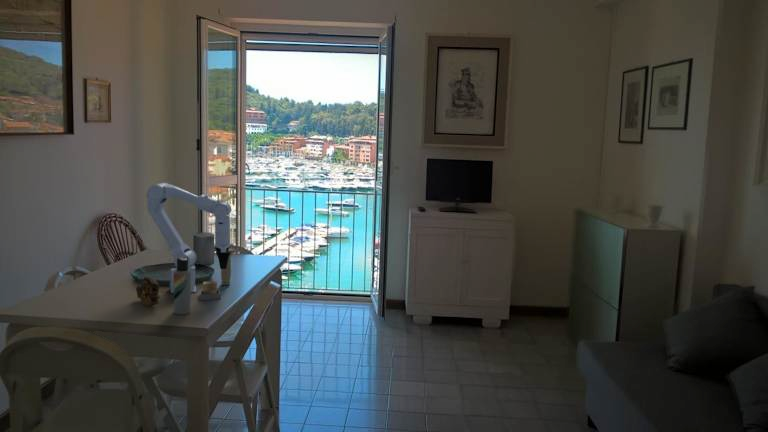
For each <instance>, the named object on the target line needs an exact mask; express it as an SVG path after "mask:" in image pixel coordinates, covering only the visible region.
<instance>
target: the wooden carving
mask: <svg viewBox="0 0 768 432" xmlns="http://www.w3.org/2000/svg"><path fill="white" fill-rule="evenodd" d="M141 283H142V284H141V285H137V286H136V289H135V292H136V295H137V299H140V302H141V303H142V304H143V305H145V306H156V305H158V304H159V299H161V295H160V294H159V290H160V283H158V281H157V279H156V278H155V277H149V276H146V277H145V276H144V277H143V279H142V281H141Z"/></svg>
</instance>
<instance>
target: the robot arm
mask: <svg viewBox="0 0 768 432" xmlns="http://www.w3.org/2000/svg"><path fill="white" fill-rule="evenodd" d="M145 198H146V201H147V202H146V203H147V206H146V207H147V212H148V214H149V215H150V217H151V218H152V220H153V222H154V224H155V225H156V226H157V228H158V230H159V232H161V233H160V234H162V236H163V238H164V240H165V241H166V243H167V245H168V246H169V248H170V250H171V255H172V258H173V262H174V265H175V268H170V282H169V288H170V293H171V294H174V271H175V270H177V259H178V257H187V258H188V270H190V271H191V293H196V292H197V286H196V266H195V264H194V263H195V262H196V260H197V255H196V253H195V252H194V251H193V250H192V249H191V248H190V246H189V245H188V244H187V243H185V242H184V240H183V239H182V237H181V235H180V234H179V232H178V230H177V229H176V228H175V227H176V226H174V225H173V223H172V221H171V219H170V218H169V216H168V214H167V213H166V211H165V210H164V206H165V204H166V201H167V199H169V198H170V199H172V198H176V199H179V200H183V201H186V202H189V203H192V204H194V205H195V207H196V208H197V209H199V210H202V211H203V212H207V213H209V214H211V215H212V214H213V215H214V218H215V220H214V235H215V236H214V250H215V255H216V256H217V259H218V264H219V268H220V270H221V269H226V267H227V262H228V258H229V255H230V253H231V252H228V250H229V248H230V247H233V246H234V243H233V242H231V216H230V214H231V212H232V206H231V204H230V203H228V202H226V201H223V200H222V201H221V200H220V199H215V198H212V197H210V194H201V195H196V194H194V193H192V192H190V191H187V190H186V189H183V188H181V187H178V186H176V185H174V184H170V183H167V182H163V181H162V182H158V183H157V184H156V183H155V184H152V185H150V186H149V187H148V189H147V191H146V193H145Z"/></svg>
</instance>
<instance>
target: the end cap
mask: <svg viewBox="0 0 768 432" xmlns="http://www.w3.org/2000/svg"><path fill="white" fill-rule="evenodd" d="M203 300H204V301H205V300H207V301H209V300H210V301H211V300H221V291H220V290H218V289H217V294H203V290H199V301H203Z"/></svg>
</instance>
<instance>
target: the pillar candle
mask: <svg viewBox="0 0 768 432" xmlns="http://www.w3.org/2000/svg"><path fill="white" fill-rule="evenodd" d="M192 245H193V251H194V252H195V253H196V255H197V260H196V262H195V263H194V265H198V264H201V265H202V266H203V265H204V266H207V265H212V264H215V233H212V232H207V231H206V232H205V231H203V232H195V233H193V243H192ZM201 265H200V266H201Z"/></svg>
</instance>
